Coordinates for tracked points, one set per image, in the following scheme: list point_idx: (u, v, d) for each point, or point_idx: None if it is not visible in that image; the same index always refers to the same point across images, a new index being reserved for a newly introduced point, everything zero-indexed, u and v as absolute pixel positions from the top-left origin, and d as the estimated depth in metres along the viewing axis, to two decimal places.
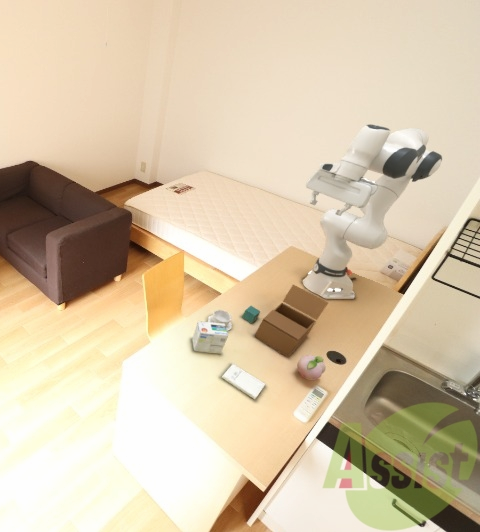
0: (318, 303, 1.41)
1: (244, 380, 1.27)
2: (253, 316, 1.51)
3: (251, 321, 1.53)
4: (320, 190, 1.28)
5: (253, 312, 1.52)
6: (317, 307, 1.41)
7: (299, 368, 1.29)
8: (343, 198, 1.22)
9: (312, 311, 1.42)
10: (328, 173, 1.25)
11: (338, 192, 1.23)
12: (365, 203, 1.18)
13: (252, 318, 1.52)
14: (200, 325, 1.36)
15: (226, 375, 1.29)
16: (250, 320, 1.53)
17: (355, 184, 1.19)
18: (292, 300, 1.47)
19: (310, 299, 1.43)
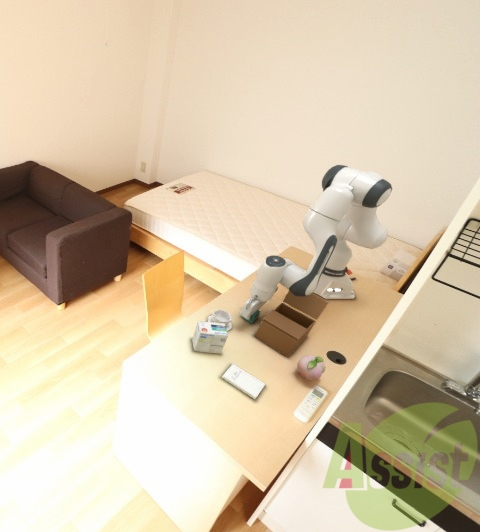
0: (318, 303, 1.41)
1: (244, 380, 1.27)
2: (253, 316, 1.51)
3: (251, 321, 1.53)
4: None
5: None
6: (317, 307, 1.41)
7: (299, 368, 1.29)
8: None
9: (312, 311, 1.42)
10: None
11: None
12: (243, 313, 1.45)
13: (252, 318, 1.52)
14: (200, 325, 1.36)
15: (226, 375, 1.29)
16: (250, 320, 1.53)
17: None
18: (292, 300, 1.47)
19: (310, 299, 1.43)
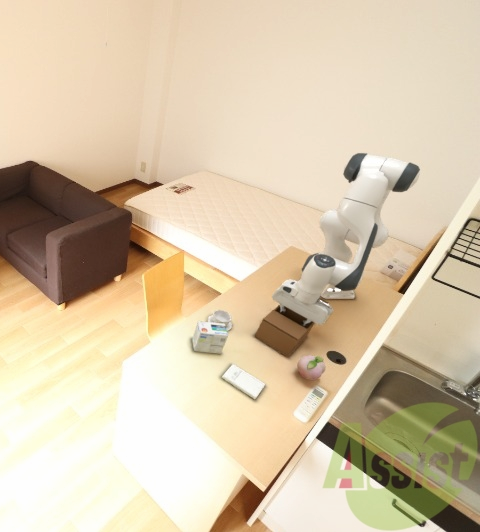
0: None
1: (244, 380, 1.27)
2: None
3: None
4: (284, 304, 1.43)
5: None
6: None
7: (299, 368, 1.29)
8: (305, 315, 1.38)
9: None
10: (289, 294, 1.39)
11: (301, 310, 1.38)
12: (325, 321, 1.34)
13: None
14: (200, 325, 1.36)
15: (226, 375, 1.29)
16: None
17: (313, 306, 1.34)
18: None
19: None
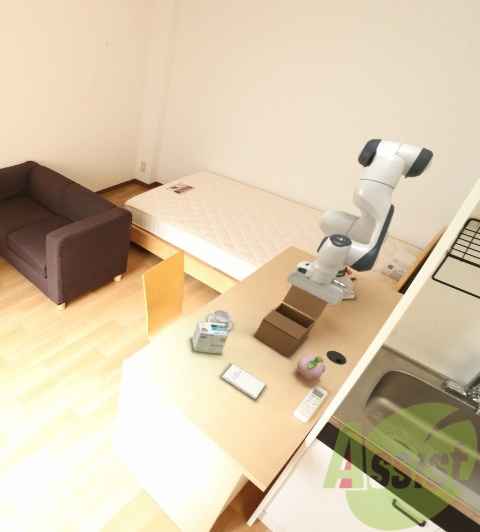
0: (317, 303, 1.40)
1: (244, 380, 1.27)
2: None
3: None
4: (299, 286, 1.44)
5: None
6: (317, 307, 1.41)
7: (299, 368, 1.29)
8: (320, 296, 1.39)
9: (312, 311, 1.42)
10: (304, 275, 1.40)
11: (316, 291, 1.39)
12: (340, 301, 1.35)
13: None
14: (200, 325, 1.36)
15: (226, 375, 1.29)
16: None
17: (329, 287, 1.35)
18: (292, 300, 1.47)
19: (309, 299, 1.42)
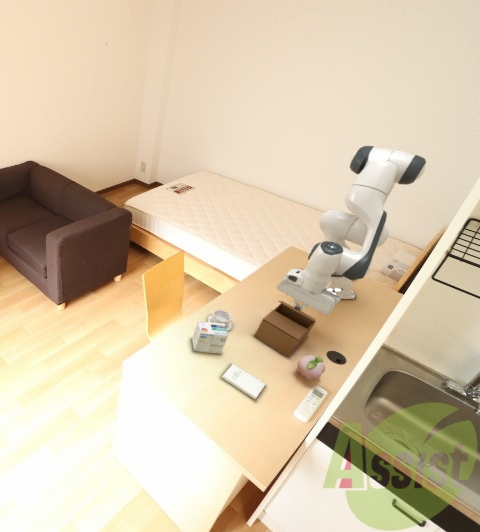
0: (307, 316, 1.39)
1: (244, 380, 1.27)
2: None
3: None
4: (290, 294, 1.39)
5: None
6: (309, 317, 1.39)
7: (299, 368, 1.29)
8: (311, 305, 1.34)
9: None
10: (294, 283, 1.35)
11: (307, 299, 1.35)
12: (331, 311, 1.31)
13: None
14: (200, 325, 1.36)
15: (226, 375, 1.29)
16: None
17: (320, 295, 1.31)
18: (288, 305, 1.46)
19: (299, 312, 1.40)
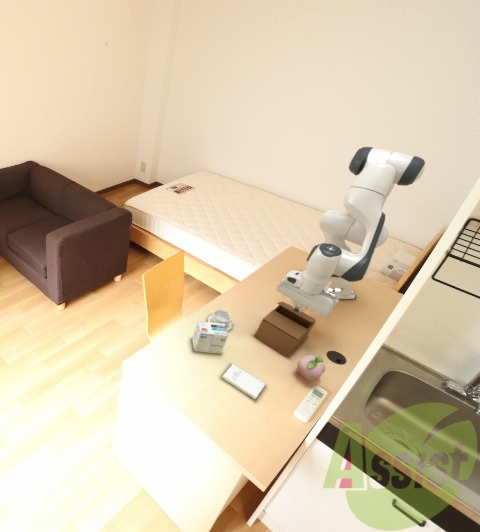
0: None
1: (244, 380, 1.27)
2: None
3: None
4: (289, 296, 1.40)
5: None
6: None
7: (299, 368, 1.29)
8: (310, 306, 1.35)
9: None
10: (293, 285, 1.36)
11: (306, 301, 1.35)
12: (330, 312, 1.31)
13: None
14: (200, 325, 1.36)
15: (226, 375, 1.29)
16: None
17: (319, 297, 1.31)
18: None
19: None
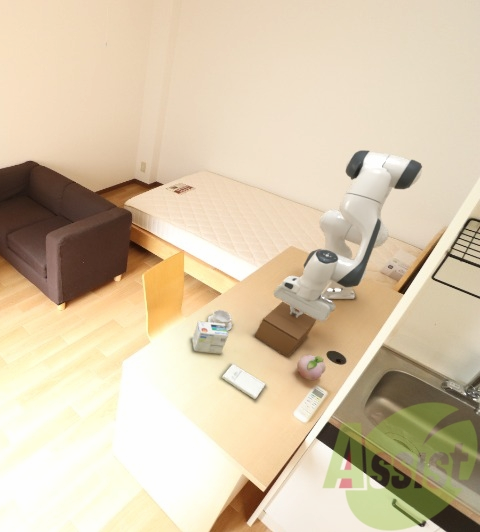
0: None
1: (244, 380, 1.27)
2: None
3: None
4: (286, 301, 1.41)
5: None
6: None
7: (299, 368, 1.29)
8: (307, 312, 1.36)
9: None
10: (290, 290, 1.37)
11: (303, 306, 1.37)
12: None
13: None
14: (200, 325, 1.36)
15: (226, 375, 1.29)
16: None
17: (315, 303, 1.33)
18: None
19: None
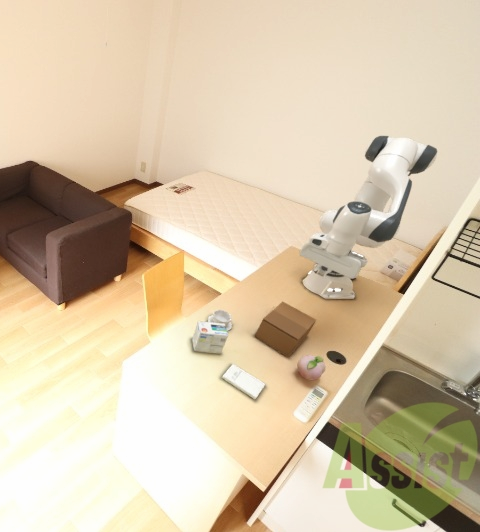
0: None
1: (244, 380, 1.27)
2: None
3: None
4: (313, 259, 1.36)
5: None
6: None
7: (299, 368, 1.29)
8: (336, 269, 1.31)
9: None
10: (318, 247, 1.32)
11: (331, 264, 1.32)
12: (357, 274, 1.27)
13: None
14: (200, 325, 1.36)
15: (226, 375, 1.29)
16: None
17: (345, 258, 1.27)
18: None
19: None
